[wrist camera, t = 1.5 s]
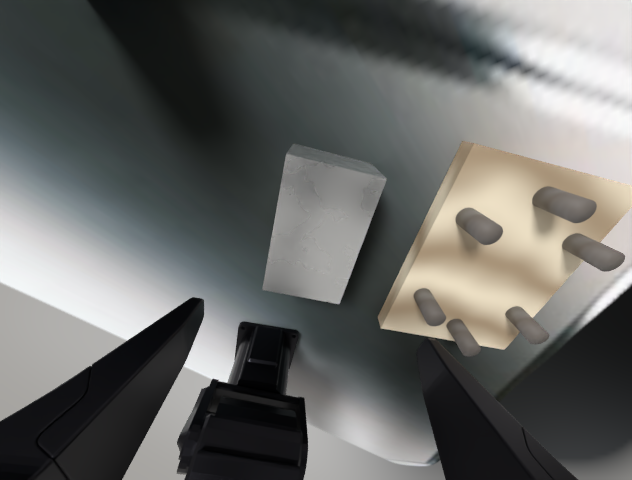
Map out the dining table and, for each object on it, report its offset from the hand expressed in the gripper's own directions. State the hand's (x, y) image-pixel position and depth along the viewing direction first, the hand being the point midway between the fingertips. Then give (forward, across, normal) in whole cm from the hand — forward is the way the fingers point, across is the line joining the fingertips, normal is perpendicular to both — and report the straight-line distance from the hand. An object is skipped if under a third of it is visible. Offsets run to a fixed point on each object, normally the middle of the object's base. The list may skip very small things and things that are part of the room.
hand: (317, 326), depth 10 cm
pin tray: (+12, -16, +2) cm, 20 cm away
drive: (+12, 0, 0) cm, 12 cm away
